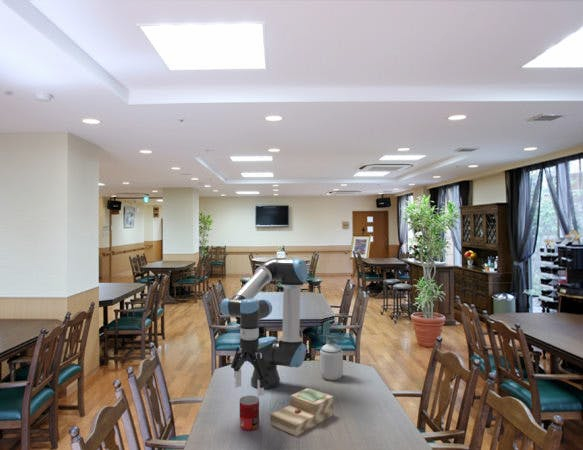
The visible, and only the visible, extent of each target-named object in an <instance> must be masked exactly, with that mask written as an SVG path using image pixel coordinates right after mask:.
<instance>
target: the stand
mask: <svg viewBox="0 0 583 450" xmlns="http://www.w3.org/2000/svg"><path fill="white" fill-rule="evenodd" d="M289 399H290V400H289V402H290V403H289V405H288V406H285V407H283V408H280V409H279V410H277V411H275V412H274V411H273V412H272V413H270V416H269V417H270V421H269V422H270V423H269V424H270V425H271V426H273V427H276V428H277V429H280V430H282V431H284V432H286V433H289V434H290V435H292V436H295V437H296V436H297V437H298V436H299V435H300V434H302V433H304V432H306V431H307V430H309V429H311V428H314V427H315V426H317V425H318V424H320V423H321V422H324V421H325V420H327V419H328V418H330V417H332V416H334V396H333V395H332V394H328V393H325V392H322V391H319V390H316V389H314V388H310V387H307V388H305V389H302V390H299V391H298V392H296V393H293V394H291V395H290V398H289Z"/></svg>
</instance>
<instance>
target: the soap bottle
mask: <svg viewBox="0 0 583 450" xmlns="http://www.w3.org/2000/svg"><path fill="white" fill-rule="evenodd" d="M337 320H338V319H331V320H326V321H325V322H323V324H322V325H323V326H322V332H323V335H324V337H328V340H327V341H326V344H324V345H322V347H321V348H320V351H319V371H320V372H319V373H320V375H321V377H322V378H324V379H325V380H327V381H337V380H339V379H341V377H343V374H344V351H343V348H342V347H340V346H339V345H338V344H337V341H335V340H334V339H335V338H337V337H339V335H338V334H335V333H331V332H330V331H331V330H330V323H331V322H334V321H337Z"/></svg>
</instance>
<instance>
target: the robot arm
mask: <svg viewBox="0 0 583 450" xmlns="http://www.w3.org/2000/svg"><path fill="white" fill-rule="evenodd" d="M308 276H309V273H308V265H307V263H306V261H305V260H303V259H302V258H286V257H285V258H283V257H282V258H279V257H276V258H271V259H269V260H266V261H265V262H263V263H261V264H260V265H259V266H258V267H257V268H256V269H255V271H254V274H253V275H252V276H251V277H250V278H249V279H248V280H247V281H246V282H245V284H243V286H242V287H241V288H240V289H239V290H237V292H236V293H235V294H234V295H233V296H232V297H231V298H230V297H227V298H223V299H222V300H221V302H220V313H221V315H223V316H229V317H238V318H239V317H240V318H239V319H240V320H239V321H240V326H239V328H240V329H239V330H240V331H239V333H240V334H239V337H240V339H239V346H237V347H236V348H235V354H234V357H233V360H232V363H231V365H230V368H231V369H233V372H234V379H235V380H234V388H239V387H241V386H242V369H241V368H242V367H243V365H244V363H245V362H248V363H249V364H251V365H252V366H253V372H252V375H251V377H250V385H251V386H252V387H253V388H255V389H257V397H258V398H260V397H261V396H264V395H265V390H267V389H274V388H276V387H278V386H280V384H281V378H280V374H279V370H278V367H277V366H280V367H281V366H283V367H289V368H300V367H301V366H302V365H303V363H304V361H305V359H306V353H307V347H306V344H305V343H303V339H302V338H301V336H300V323H301V322H300V321H301V319H300V318H301V317H300V316H301V314H300V313H301V288H303V286H304V284H305V282H307V280H308ZM274 281H279V282H280V286H281V287H282V288H283V299H282V301H283V302H282V332H281V334H282V335H281V336H280V337H279V339H278V338H277V336H276V337H275V336H266V337H265V336H264V337H260V338H259V336H260V329H259V328H260V327H259V325H260V320H262V319H265V318H268V316H270V315H271V313H272V311H273V304H272V303H271V302H270V301H269V299H259V300H258V299H256V298H255V297H256V296H257V295H258V293H260V292H261V290H262V289H263V288H264V287H265V286H266V285H268V284H270V283H271V282H274Z"/></svg>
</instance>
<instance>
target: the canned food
mask: <svg viewBox="0 0 583 450" xmlns="http://www.w3.org/2000/svg"><path fill="white" fill-rule="evenodd" d="M259 426H260V397H258V396H256V395H244V396H241V397H240V398H239V428H240V429H241V430H242V431H246V432H249V431H250V432H252V431H255V430H258V428H259Z"/></svg>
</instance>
